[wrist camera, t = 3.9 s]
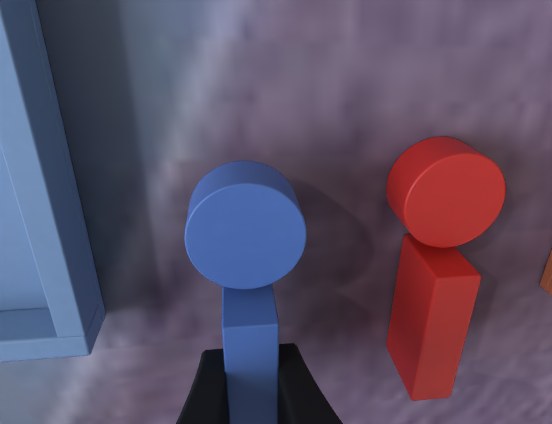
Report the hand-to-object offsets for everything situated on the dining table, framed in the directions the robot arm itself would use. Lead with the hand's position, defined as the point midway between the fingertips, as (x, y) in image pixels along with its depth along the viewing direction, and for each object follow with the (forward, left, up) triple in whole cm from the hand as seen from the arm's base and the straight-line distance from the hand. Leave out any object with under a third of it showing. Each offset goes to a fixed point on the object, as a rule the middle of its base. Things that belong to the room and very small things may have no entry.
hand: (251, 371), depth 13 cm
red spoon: (+2, -6, -3) cm, 7 cm away
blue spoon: (+2, 0, -1) cm, 2 cm away
